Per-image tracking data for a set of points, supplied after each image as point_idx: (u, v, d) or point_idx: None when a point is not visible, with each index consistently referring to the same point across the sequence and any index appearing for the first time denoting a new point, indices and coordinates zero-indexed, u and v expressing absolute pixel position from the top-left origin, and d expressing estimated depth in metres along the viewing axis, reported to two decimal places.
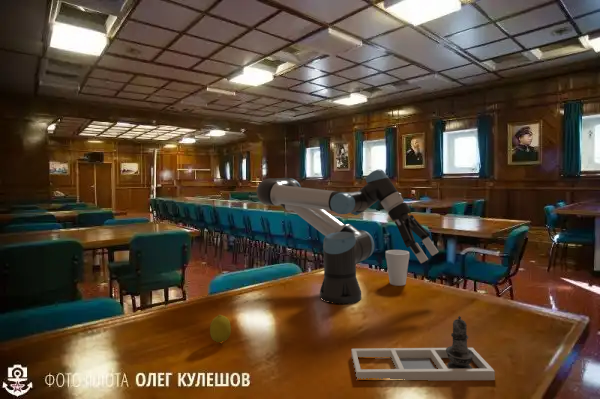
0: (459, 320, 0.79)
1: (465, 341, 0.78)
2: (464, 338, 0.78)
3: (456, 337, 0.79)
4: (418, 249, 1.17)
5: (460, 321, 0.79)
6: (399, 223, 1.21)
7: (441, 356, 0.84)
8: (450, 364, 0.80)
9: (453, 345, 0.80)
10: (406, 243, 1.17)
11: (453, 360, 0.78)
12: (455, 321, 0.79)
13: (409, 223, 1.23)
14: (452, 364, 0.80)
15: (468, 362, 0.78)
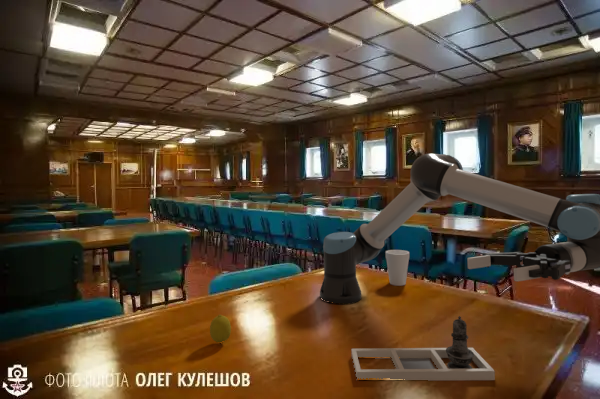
0: (459, 320, 0.79)
1: (465, 341, 0.78)
2: (464, 338, 0.78)
3: (456, 337, 0.79)
4: None
5: (460, 321, 0.79)
6: (566, 267, 0.80)
7: (441, 356, 0.84)
8: (450, 364, 0.80)
9: (453, 345, 0.80)
10: (557, 270, 0.75)
11: (453, 360, 0.78)
12: (455, 321, 0.79)
13: None
14: (452, 364, 0.80)
15: (468, 362, 0.78)
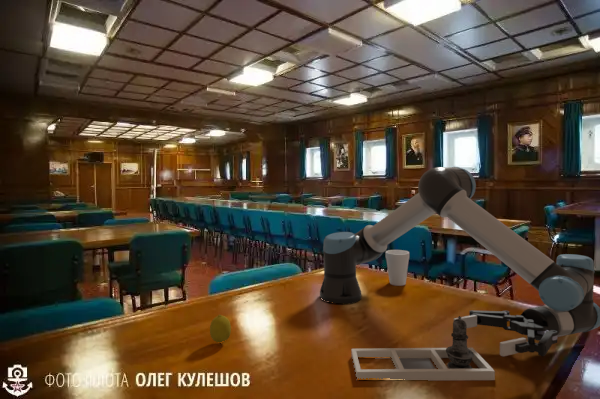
0: (459, 320, 0.79)
1: (465, 341, 0.78)
2: (464, 338, 0.78)
3: (456, 337, 0.79)
4: None
5: (460, 321, 0.79)
6: (554, 338, 0.78)
7: (441, 356, 0.84)
8: (450, 364, 0.80)
9: (453, 345, 0.80)
10: (544, 347, 0.73)
11: (453, 360, 0.78)
12: (455, 321, 0.79)
13: None
14: (452, 364, 0.80)
15: (468, 362, 0.78)
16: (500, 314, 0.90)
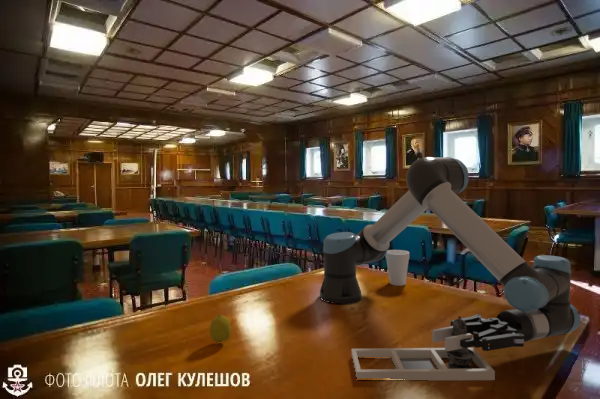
0: (459, 320, 0.79)
1: None
2: None
3: None
4: None
5: (460, 321, 0.79)
6: (517, 341, 0.77)
7: (441, 356, 0.84)
8: (450, 364, 0.80)
9: None
10: (487, 342, 0.75)
11: (453, 360, 0.78)
12: (455, 321, 0.79)
13: None
14: (452, 364, 0.80)
15: (468, 362, 0.77)
16: (476, 319, 0.87)
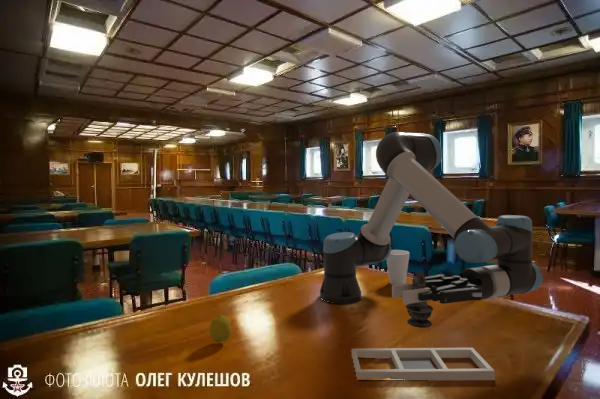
0: (418, 275, 0.79)
1: None
2: None
3: None
4: None
5: (419, 276, 0.78)
6: (475, 295, 0.76)
7: (441, 356, 0.84)
8: (410, 320, 0.80)
9: None
10: (444, 295, 0.75)
11: (412, 315, 0.78)
12: (414, 276, 0.79)
13: None
14: (412, 320, 0.80)
15: (427, 316, 0.77)
16: (438, 278, 0.86)
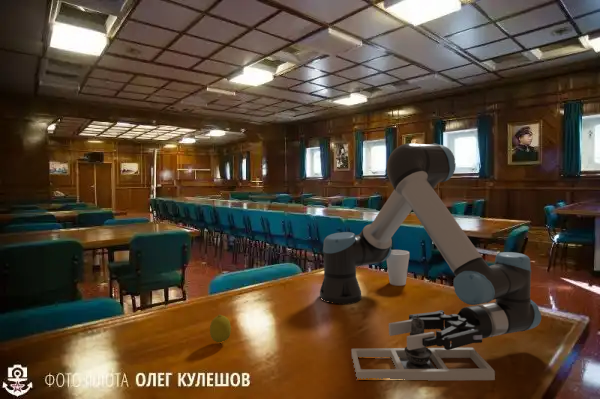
0: (417, 319, 0.79)
1: None
2: None
3: None
4: None
5: (418, 320, 0.79)
6: (476, 337, 0.77)
7: (441, 356, 0.84)
8: (409, 363, 0.81)
9: None
10: (449, 341, 0.74)
11: (410, 359, 0.79)
12: (413, 320, 0.80)
13: None
14: (410, 363, 0.81)
15: (425, 361, 0.78)
16: (437, 315, 0.87)
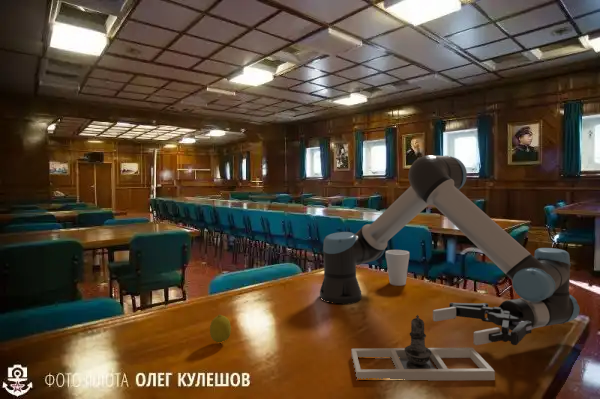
0: (417, 319, 0.79)
1: (422, 340, 0.79)
2: (421, 337, 0.78)
3: (413, 336, 0.79)
4: None
5: (418, 320, 0.79)
6: (528, 328, 0.80)
7: (441, 356, 0.84)
8: (409, 363, 0.81)
9: (411, 344, 0.80)
10: (516, 336, 0.75)
11: (410, 359, 0.79)
12: (413, 320, 0.80)
13: None
14: (410, 363, 0.81)
15: (425, 361, 0.78)
16: (479, 306, 0.92)
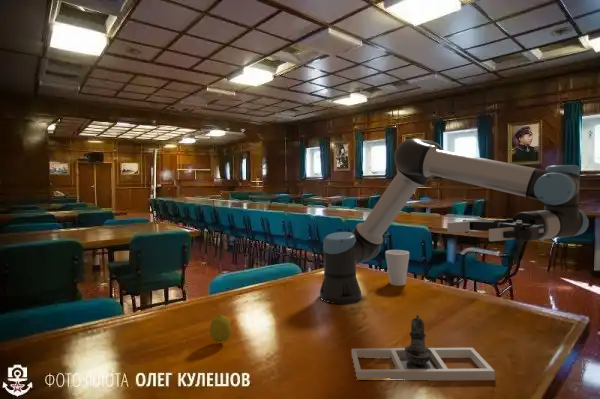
0: (417, 319, 0.79)
1: (422, 340, 0.79)
2: (421, 337, 0.78)
3: (413, 336, 0.79)
4: None
5: (418, 320, 0.79)
6: (540, 231, 0.84)
7: (441, 356, 0.84)
8: (409, 363, 0.81)
9: (411, 344, 0.80)
10: (530, 232, 0.78)
11: (410, 359, 0.79)
12: (413, 320, 0.80)
13: None
14: (410, 363, 0.81)
15: (425, 361, 0.78)
16: None
